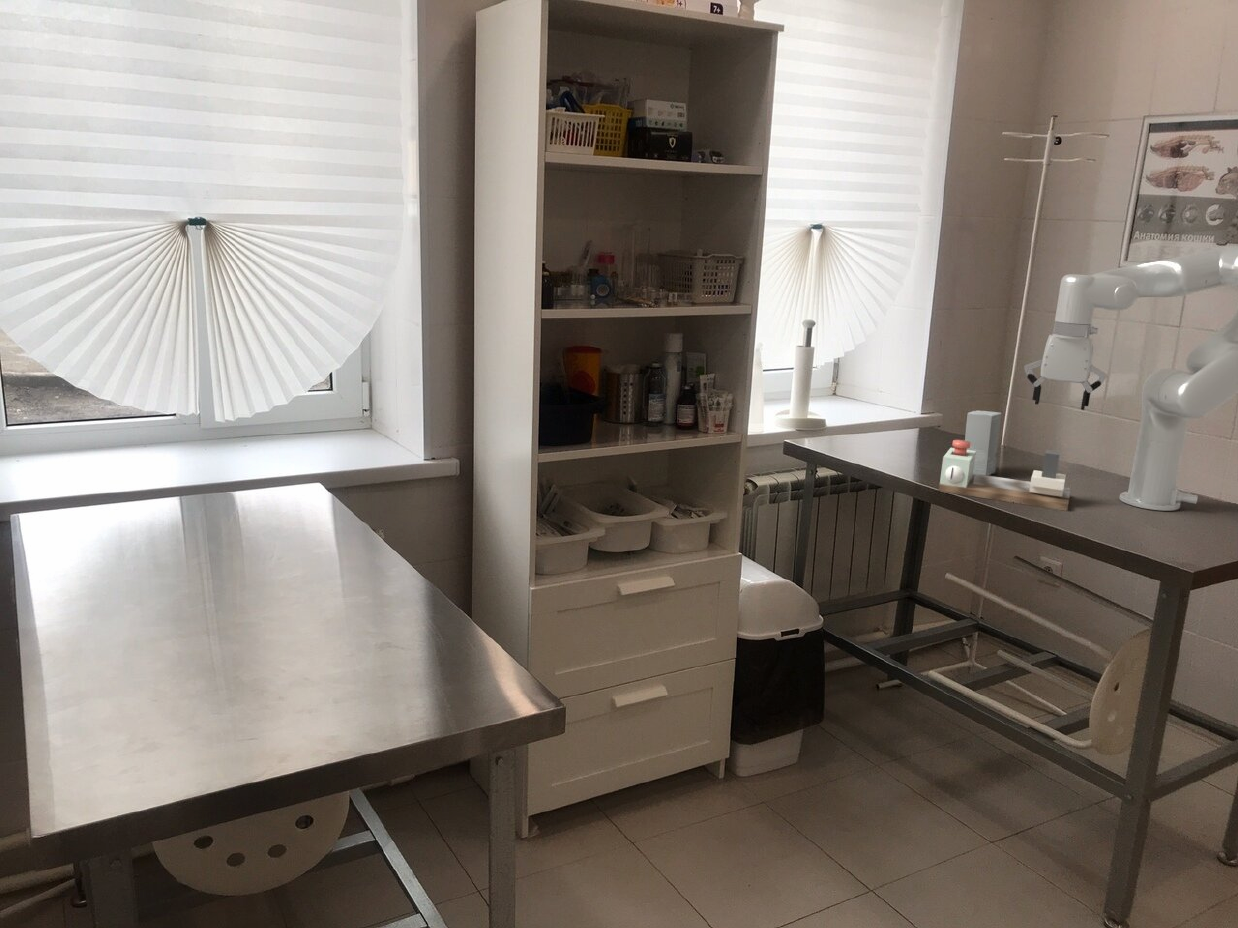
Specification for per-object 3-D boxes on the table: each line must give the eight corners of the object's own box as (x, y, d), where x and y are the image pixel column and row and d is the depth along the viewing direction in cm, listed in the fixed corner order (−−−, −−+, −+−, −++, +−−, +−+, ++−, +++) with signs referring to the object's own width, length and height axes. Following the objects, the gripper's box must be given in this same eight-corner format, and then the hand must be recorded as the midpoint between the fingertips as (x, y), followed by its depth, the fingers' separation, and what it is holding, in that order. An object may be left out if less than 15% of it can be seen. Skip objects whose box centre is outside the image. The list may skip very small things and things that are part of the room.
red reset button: (969, 454, 237) (971, 441, 236) (967, 457, 234) (969, 444, 233) (952, 451, 239) (954, 439, 238) (950, 455, 235) (951, 442, 235)
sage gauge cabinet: (972, 476, 242) (976, 451, 240) (965, 488, 231) (969, 461, 229) (947, 473, 244) (950, 447, 243) (939, 484, 233) (943, 457, 232)
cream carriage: (1063, 490, 232) (1069, 451, 229) (1061, 498, 225) (1068, 458, 222) (1031, 485, 234) (1037, 447, 232) (1028, 493, 227) (1035, 453, 225)
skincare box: (986, 478, 247) (995, 416, 244) (957, 472, 252) (966, 411, 248) (996, 472, 254) (1005, 412, 250) (968, 467, 258) (977, 407, 254)
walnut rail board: (1069, 496, 234) (1071, 482, 233) (1067, 510, 222) (1069, 495, 221) (946, 478, 246) (948, 464, 245) (938, 490, 233) (940, 476, 232)
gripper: (1114, 333, 220) (1101, 408, 224) (1031, 326, 227) (1020, 399, 232) (1114, 336, 214) (1101, 413, 218) (1028, 328, 221) (1017, 404, 225)
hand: (1059, 406), depth 225 cm, fingers open, 9 cm apart
